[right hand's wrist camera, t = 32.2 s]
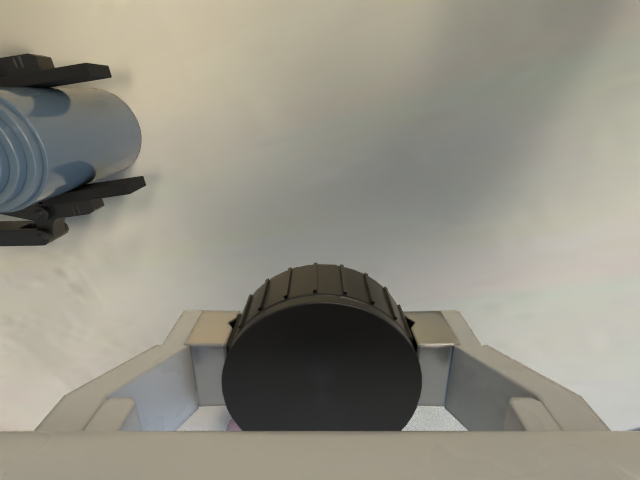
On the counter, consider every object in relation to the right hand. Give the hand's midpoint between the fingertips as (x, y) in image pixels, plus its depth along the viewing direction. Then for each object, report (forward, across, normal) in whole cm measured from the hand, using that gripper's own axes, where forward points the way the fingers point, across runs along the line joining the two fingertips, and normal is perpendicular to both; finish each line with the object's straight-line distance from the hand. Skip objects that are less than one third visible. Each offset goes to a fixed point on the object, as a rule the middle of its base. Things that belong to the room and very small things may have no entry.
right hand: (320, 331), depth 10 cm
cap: (-2, 0, 0) cm, 2 cm away
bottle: (+25, +19, -3) cm, 32 cm away
